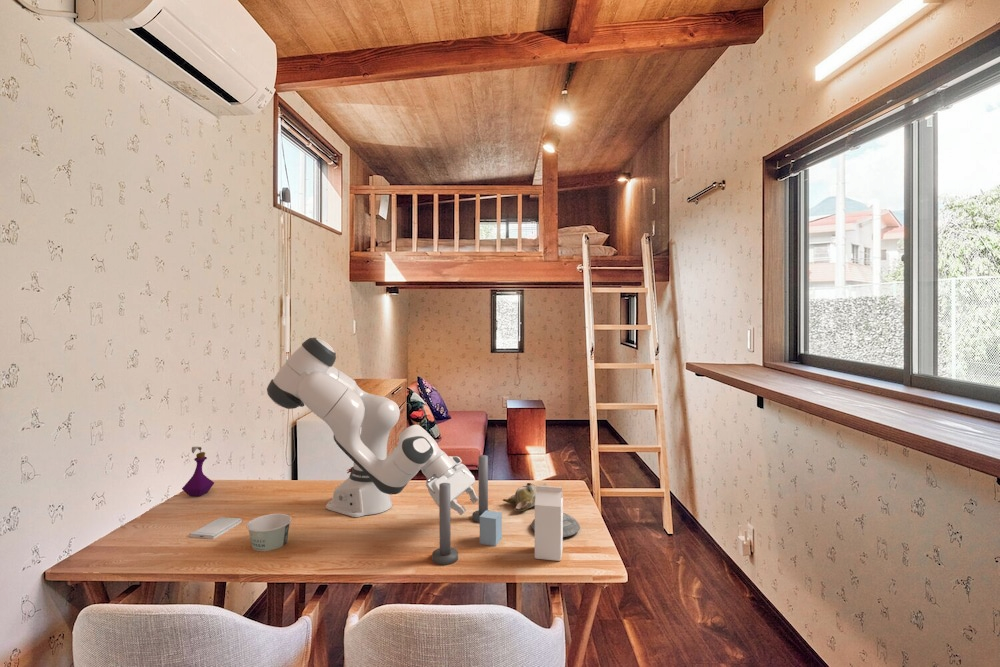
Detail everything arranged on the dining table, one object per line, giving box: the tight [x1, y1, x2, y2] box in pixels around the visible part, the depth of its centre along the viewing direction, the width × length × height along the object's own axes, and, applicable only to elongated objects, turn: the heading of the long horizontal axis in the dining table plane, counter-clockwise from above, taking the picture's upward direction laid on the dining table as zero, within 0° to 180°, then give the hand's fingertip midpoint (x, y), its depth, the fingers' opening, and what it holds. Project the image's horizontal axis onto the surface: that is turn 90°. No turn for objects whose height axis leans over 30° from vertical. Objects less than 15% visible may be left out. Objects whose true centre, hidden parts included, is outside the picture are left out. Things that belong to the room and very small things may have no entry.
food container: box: [245, 513, 293, 552], centre depth 146 cm, size 12×12×6 cm
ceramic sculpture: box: [502, 482, 548, 512], centre depth 173 cm, size 11×9×15 cm
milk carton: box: [534, 485, 564, 562], centre depth 139 cm, size 7×7×19 cm
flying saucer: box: [530, 512, 581, 538], centre depth 155 cm, size 15×15×6 cm
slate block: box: [479, 510, 503, 547], centre depth 147 cm, size 5×5×8 cm
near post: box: [431, 483, 459, 566], centre depth 137 cm, size 7×7×20 cm
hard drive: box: [189, 516, 243, 540], centre depth 156 cm, size 2×8×12 cm
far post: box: [471, 454, 489, 524], centre depth 163 cm, size 7×7×20 cm
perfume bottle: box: [181, 446, 215, 497], centre depth 185 cm, size 8×8×18 cm
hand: (470, 507), depth 149 cm, fingers open, 8 cm apart
